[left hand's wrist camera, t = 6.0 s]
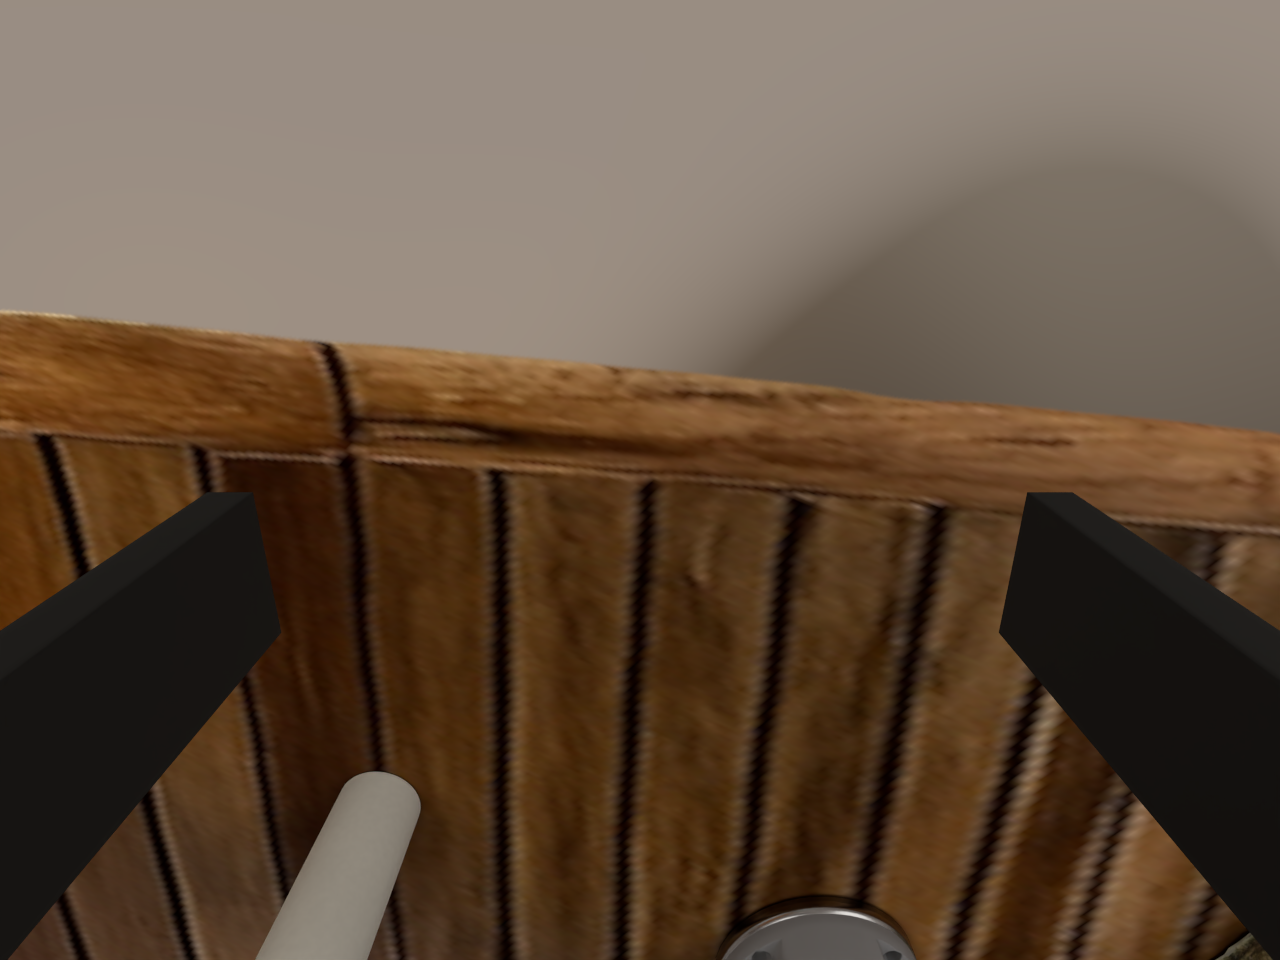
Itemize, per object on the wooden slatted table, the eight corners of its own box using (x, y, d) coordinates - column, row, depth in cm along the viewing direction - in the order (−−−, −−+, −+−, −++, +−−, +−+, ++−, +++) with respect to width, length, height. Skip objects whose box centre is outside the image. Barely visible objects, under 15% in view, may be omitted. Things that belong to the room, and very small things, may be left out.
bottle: (388, 845, 52) (253, 1191, 34) (324, 803, 51) (147, 1139, 32) (437, 802, 50) (323, 1138, 32) (372, 757, 49) (215, 1081, 31)
